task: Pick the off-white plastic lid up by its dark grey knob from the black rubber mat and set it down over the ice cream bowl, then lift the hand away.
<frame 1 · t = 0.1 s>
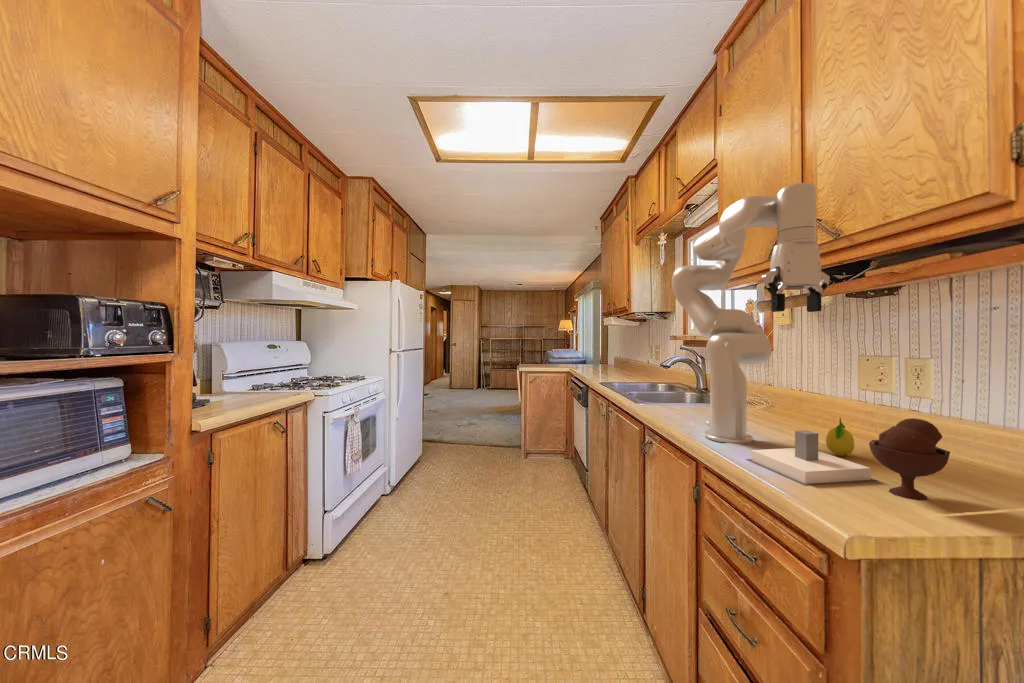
hand: (796, 311, 92), 37 cm above the countertop, tool pointing down, fingers open, 9 cm apart
lemon: (839, 457, 98), on the countertop
ice cream bowl: (907, 497, 74), on the countertop
mat: (806, 471, 88), on the countertop
lid: (806, 469, 88), resting on mat
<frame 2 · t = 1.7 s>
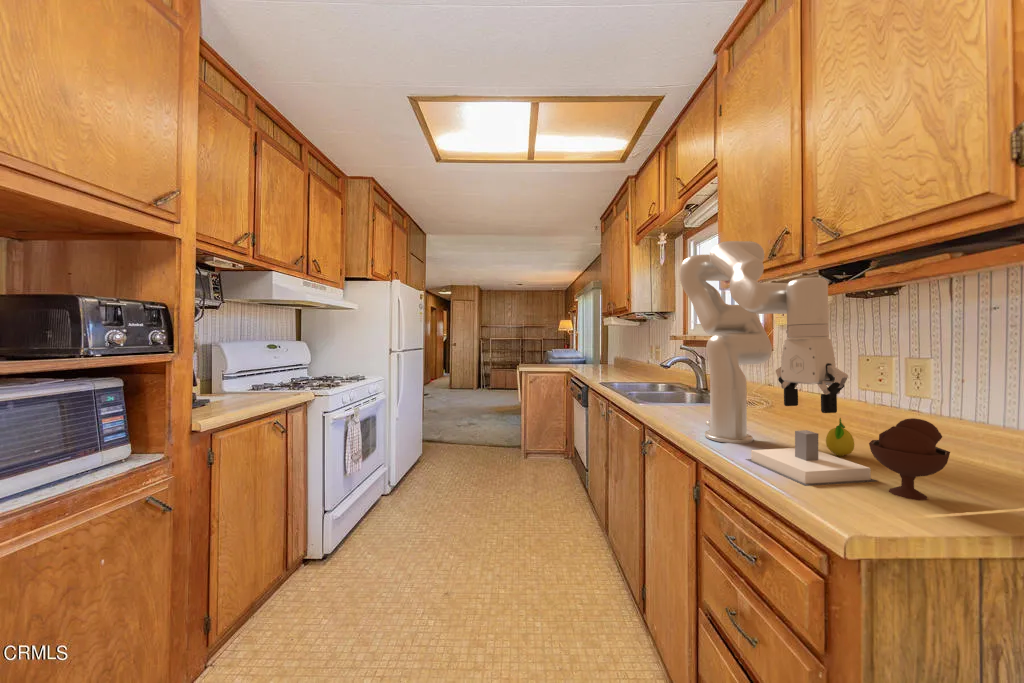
hand: (809, 409, 88), 14 cm above the countertop, tool pointing down, fingers open, 9 cm apart
nothing on the countertop moved.
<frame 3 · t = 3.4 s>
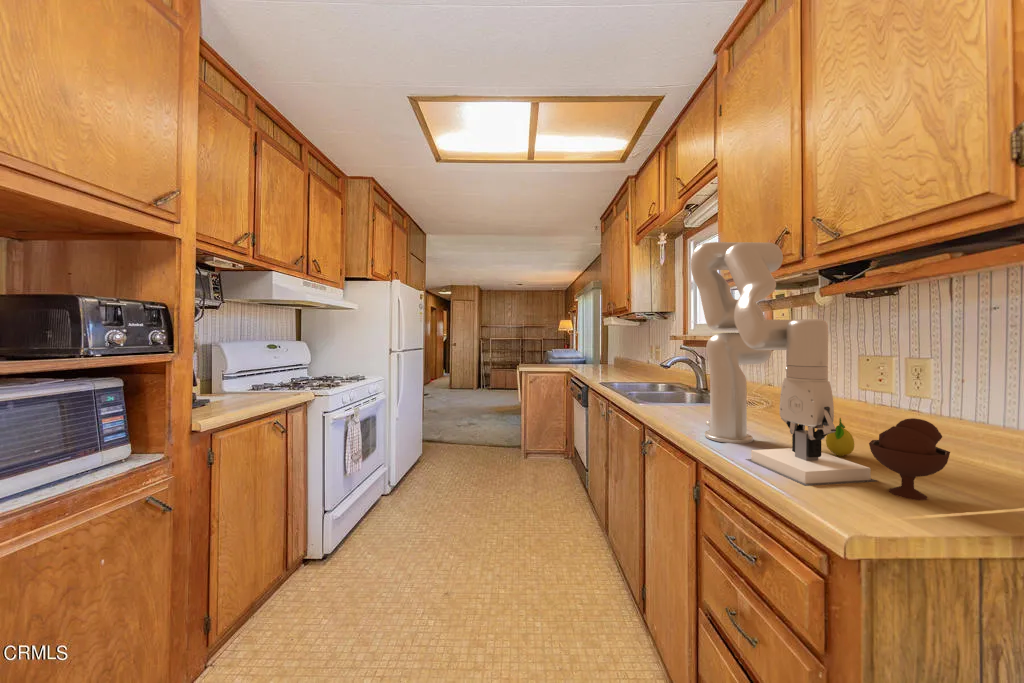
hand: (806, 453, 88), 4 cm above the countertop, tool pointing down, fingers closed on lid, 3 cm apart
lid: (806, 469, 88), resting on mat, touching gripper
everything else where it was.
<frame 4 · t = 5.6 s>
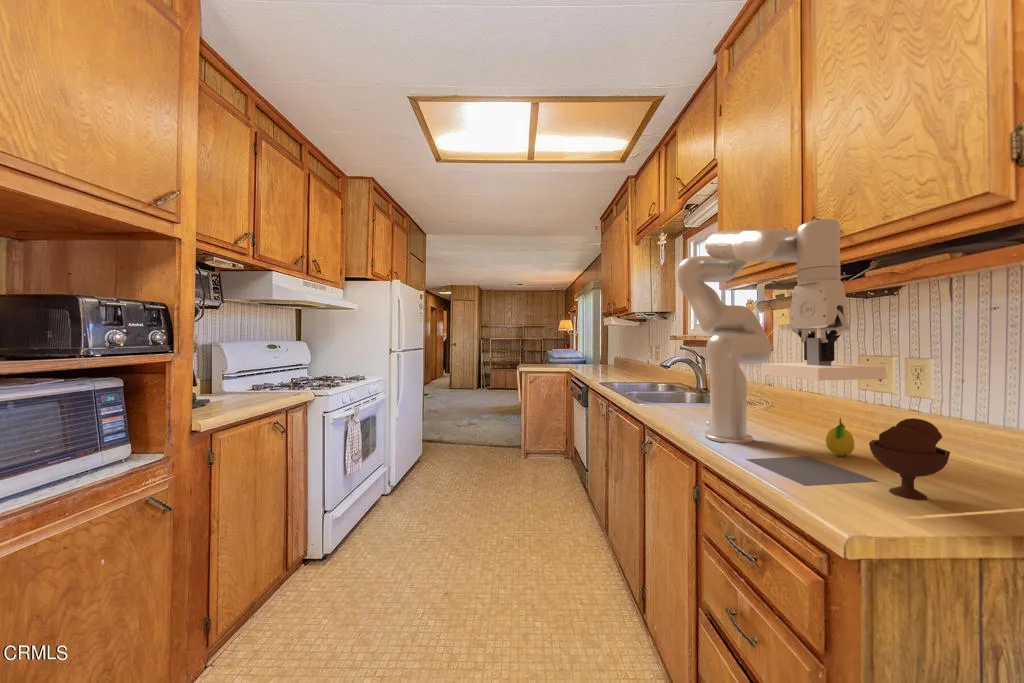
hand: (819, 359, 86), 25 cm above the countertop, tool pointing down, fingers closed on lid, 3 cm apart
lid: (818, 376, 86), point 22 cm above the countertop, touching gripper
everything else where it was.
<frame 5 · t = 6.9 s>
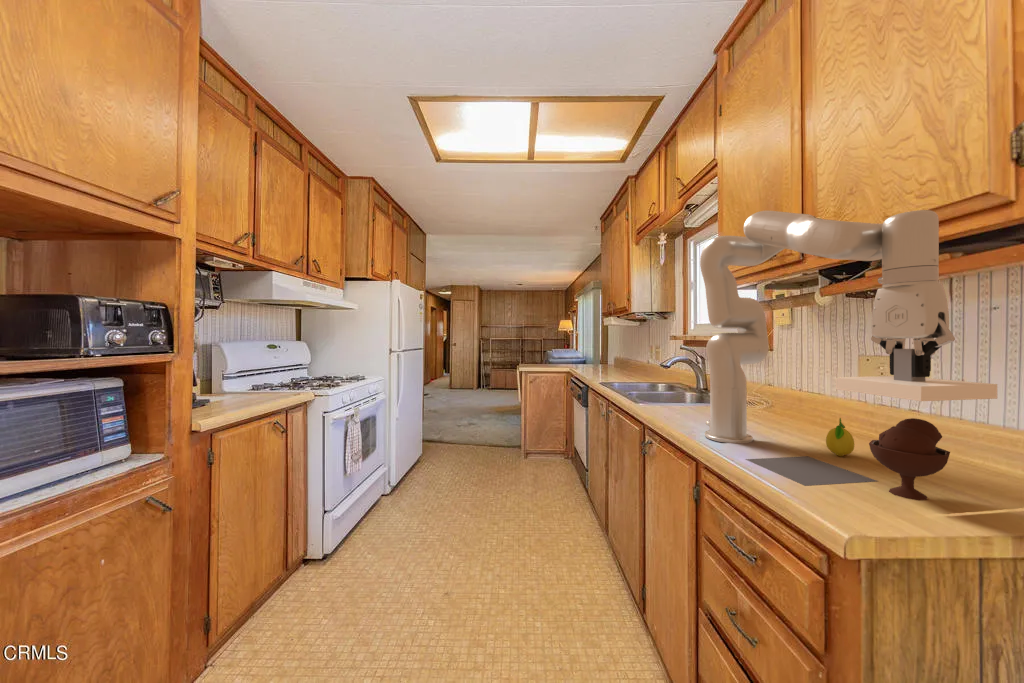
hand: (909, 374, 74), 23 cm above the countertop, tool pointing down, fingers closed on lid, 3 cm apart
lid: (909, 393, 74), point 20 cm above the countertop, touching gripper
everything else where it was.
when the fingers open (19 cm above the countertop, at t = 7.8 s): lid drops 2 cm, resting on ice cream bowl.
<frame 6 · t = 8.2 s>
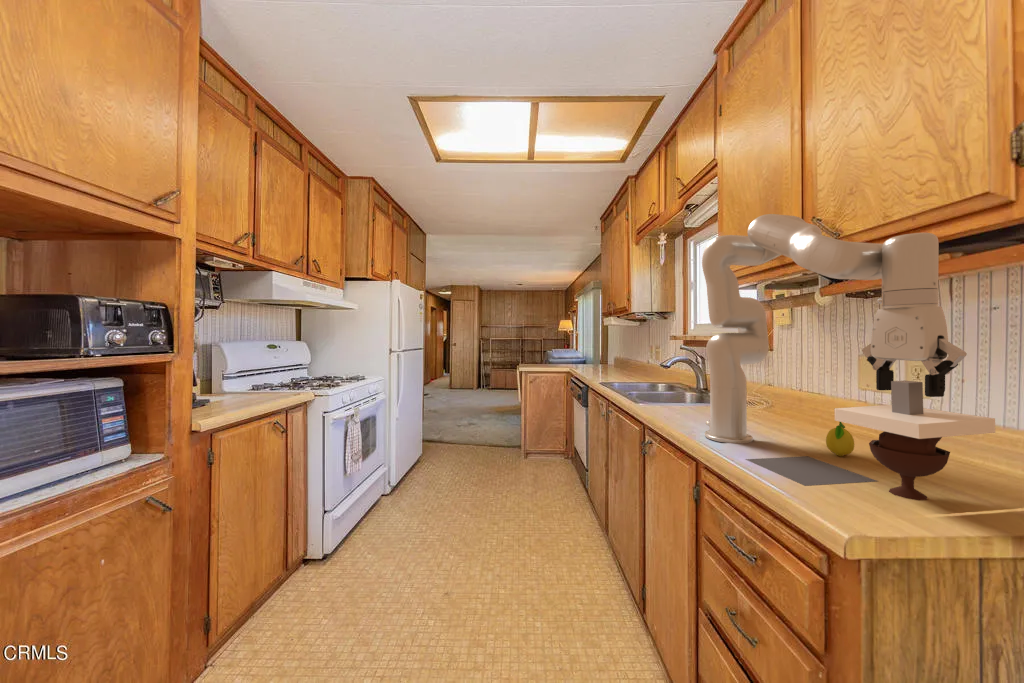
hand: (908, 392, 74), 20 cm above the countertop, tool pointing down, fingers open, 7 cm apart
ice cream bowl: (907, 497, 74), on the countertop, touching lid
lid: (907, 426, 74), point 13 cm above the countertop, touching ice cream bowl
everything else where it was.
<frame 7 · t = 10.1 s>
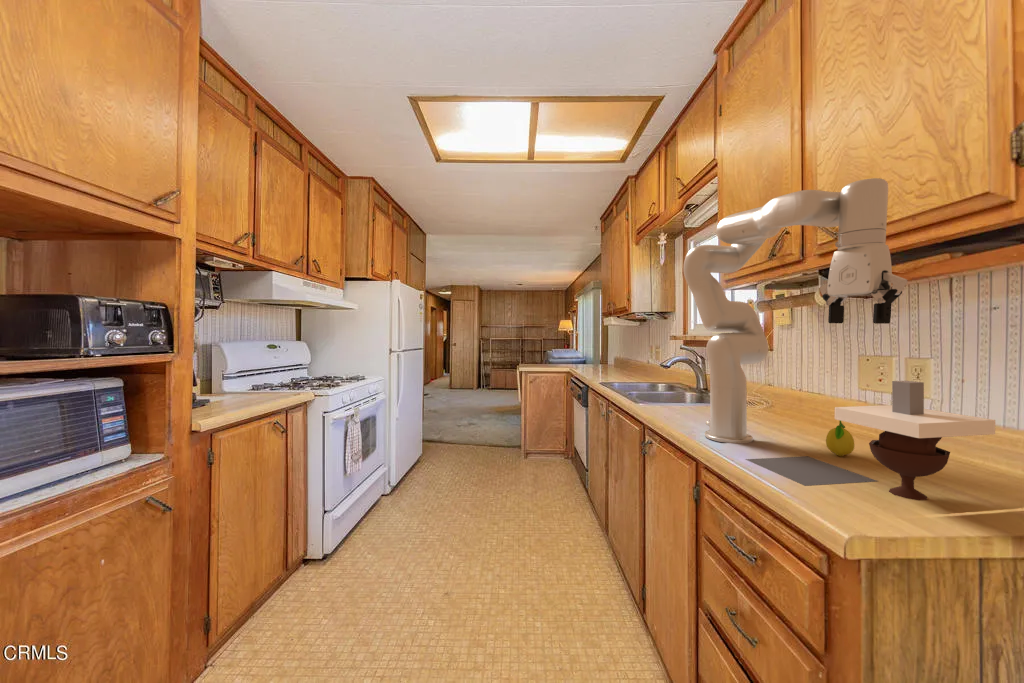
hand: (857, 323, 83), 33 cm above the countertop, tool pointing down, fingers open, 9 cm apart
nothing on the countertop moved.
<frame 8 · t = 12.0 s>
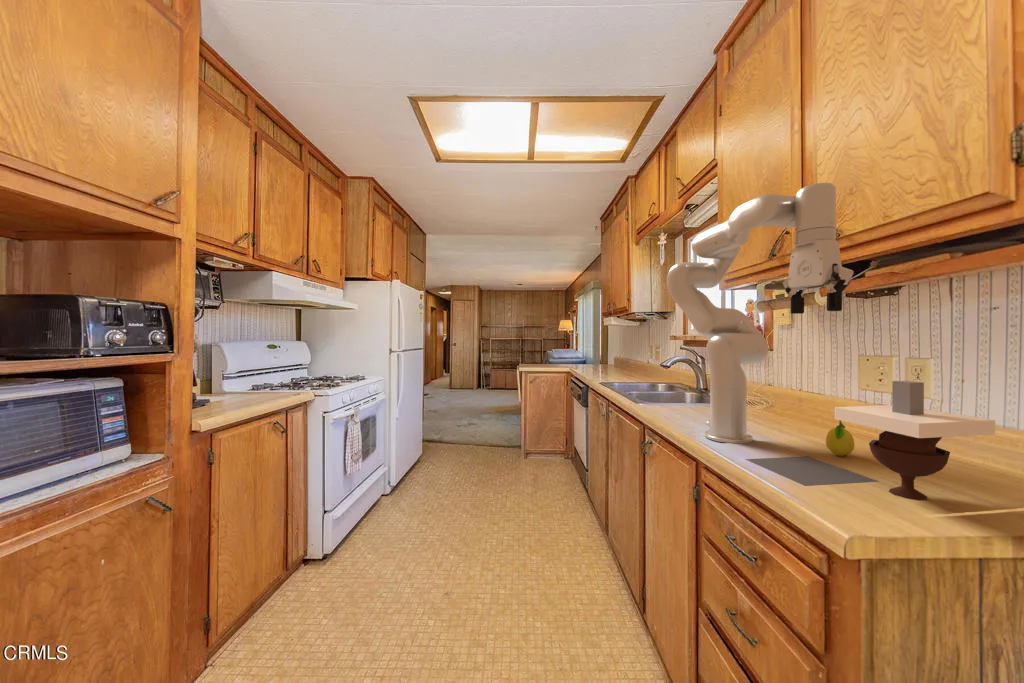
hand: (814, 312, 91), 36 cm above the countertop, tool pointing down, fingers open, 9 cm apart
nothing on the countertop moved.
at the end: lid 0.1 cm off-centre on the ice cream bowl, point 13.7 cm above the ice cream bowl's base; lid tilted 0°; ice cream bowl tilted 0° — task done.
